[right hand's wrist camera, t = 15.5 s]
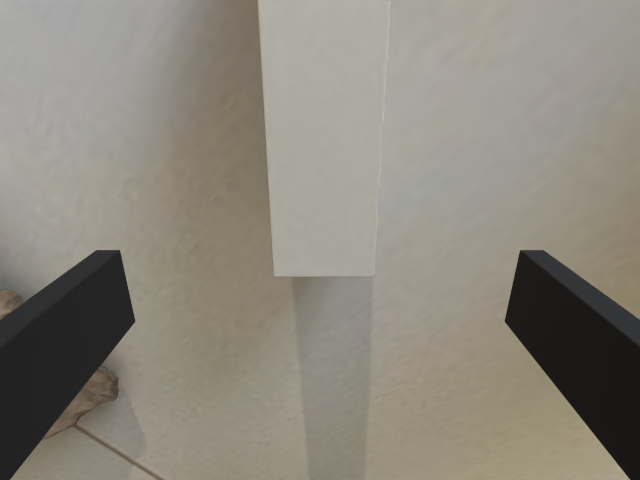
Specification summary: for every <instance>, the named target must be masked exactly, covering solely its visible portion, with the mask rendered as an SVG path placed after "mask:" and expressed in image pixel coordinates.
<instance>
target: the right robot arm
mask: <svg viewBox="0 0 640 480" xmlns="http://www.w3.org/2000/svg"><path fill="white" fill-rule="evenodd" d="M134 323H135V318H134V313H133V309H132V304H131V300H130V295H129V290H128V286H127V281H126V276H125V272H124V267H123V263H122V258H121V253H120V250H96V251H95V252H93V253H92V254H91V255H89V256H88V257H87V258H85V259H84V260H82V261H81V262H80V263H78V264H77V265H75V266H74V267H73V268H71V269H70V270H69V271H67V272H66V273H64V274H63V275H62V276H60V277H59V278H57V279H56V280H55V281H53V282H52V283H51V284H49V285H48V286H46V287H45V288H44V289H42V290H41V291H39V292H38V293H37V294H35V295H34V296H33V297H31V298H30V299H28V300H27V301H26V302H24V303H23V304H21V305H20V306H19V307H17V308H16V309H15V310H13V311H12V312H10V313H9V314H8V315H6V316H5V317H4V318H2V319H1V320H0V480H10V479H11V477H12V476H13V475H14V474H15V472H16V471H17V470H18V469H19V467H20V466H21V465H22V464H23V462H24V461H25V460H26V459H27V457H28V456H29V455H30V454H31V452H32V451H33V450H34V448H35V447H36V446H37V445H38V443H39V442H40V441H41V440H42V438H43V437H44V436H45V435H46V433H47V432H48V431H49V430H50V428H51V427H52V426H53V425H54V423H55V422H56V421H57V419H58V418H59V417H60V416H61V414H62V413H63V412H64V411H65V409H66V408H67V407H68V406H69V404H70V403H71V402H72V401H73V399H74V398H75V397H76V396H77V394H78V393H79V392H80V391H81V389H82V388H83V387H84V385H85V384H86V383H87V382H88V380H89V379H90V378H91V377H92V375H93V374H94V373H95V372H96V370H97V369H98V368H99V367H100V365H101V364H102V363H103V362H104V360H105V359H106V358H107V357H108V355H109V354H110V353H111V351H112V350H113V349H114V348H115V346H116V345H117V344H118V343H119V341H120V340H121V339H122V338H123V336H124V335H125V334H126V333H127V331H128V330H129V329H130V328H131V326H132V325H133V324H134ZM505 323H506V324H507V325H508V326H509V328H510V329H511V330H512V331H513V333H514V334H515V335H516V336H517V338H518V339H519V340H520V341H521V343H522V344H523V345H524V346H525V348H526V349H527V350H528V351H529V353H530V354H531V355H532V357H533V358H534V359H535V360H536V362H537V363H538V364H539V365H540V367H541V368H542V369H543V370H544V372H545V373H546V374H547V375H548V377H549V378H550V379H551V380H552V382H553V383H554V384H555V385H556V387H557V388H558V389H559V391H560V392H561V393H562V394H563V396H564V397H565V398H566V399H567V401H568V402H569V403H570V404H571V406H572V407H573V408H574V409H575V411H576V412H577V413H578V414H579V416H580V417H581V418H582V419H583V421H584V422H585V423H586V425H587V426H588V427H589V428H590V430H591V431H592V432H593V433H594V435H595V436H596V437H597V438H598V440H599V441H600V442H601V443H602V445H603V446H604V447H605V448H606V450H607V451H608V452H609V454H610V455H611V456H612V457H613V459H614V460H615V461H616V462H617V464H618V465H619V466H620V467H621V469H622V470H623V471H624V472H625V474H626V475H627V476H628V477H629V479H630V480H640V320H639V319H638V318H636V317H635V316H634V315H632V314H631V313H630V312H628V311H627V310H625V309H624V308H623V307H621V306H620V305H619V304H617V303H616V302H614V301H613V300H612V299H610V298H609V297H607V296H606V295H605V294H603V293H602V292H601V291H599V290H598V289H596V288H595V287H594V286H592V285H591V284H589V283H588V282H587V281H585V280H584V279H583V278H581V277H580V276H578V275H577V274H576V273H574V272H573V271H571V270H570V269H569V268H567V267H566V266H565V265H563V264H562V263H560V262H559V261H558V260H556V259H555V258H553V257H552V256H551V255H549V254H548V253H547V252H545V251H544V250H520V253H519V258H518V263H517V267H516V272H515V276H514V281H513V286H512V290H511V295H510V300H509V304H508V309H507V313H506V318H505Z"/></svg>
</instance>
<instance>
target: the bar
mask: <svg viewBox="0 0 640 480" xmlns="http://www.w3.org/2000/svg"><path fill="white" fill-rule="evenodd" d="M257 5H258V22H259V39H260V56H261V73H262V90H263V107H264V124H265V141H266V158H267V175H268V192H269V209H270V226H271V243H272V261H273V276H274V277H374V269H375V253H376V236H377V220H378V203H379V187H380V170H381V154H382V137H383V121H384V104H385V88H386V71H387V55H388V38H389V22H390V6H391V0H257Z"/></svg>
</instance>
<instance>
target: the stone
mask: <svg viewBox="0 0 640 480" xmlns="http://www.w3.org/2000/svg"><path fill="white" fill-rule="evenodd" d="M24 302H26V301H25V300H24V299H22V297H21V296H20V295H19V294H18V293H16V292H13V291H10V290H7V289H5V290H0V320H1V319H2V318H4V317H5V316H6V315H8V314H9V313H10V312H12V311H13V310H15V309H16V308H17V307H19V306H20V305H21V304H23V303H24ZM117 396H118V378H117V377H116V376H115V375H113V374H112V373H110V372H108V370H107V369H106V368H104V367H99V368H98V369H97V370H96V372H95V373H94V374H93V375H92V377H91V378H90V379H89V380H88V382H87V383H86V384H85V385H84V387H83V388H82V389H81V391H80V392H79V393H78V394H77V396H76V397H75V398H74V399H73V401H72V402H71V403H70V404H69V406H68V407H67V408H66V409H65V411H64V412H63V413H62V414H61V416H60V417H59V418H58V419H57V421H56V422H55V423H54V425H53V426H52V427H51V428H50V430H49V431H48V432H47V433H46V435H45V436H44V437H43V438H42V440H43V439H46V438H48V437H51V436H53V435H55V434H57V433H59V432H61V431H63V430H65V429H67V428H69V427H71V426H74V425H75V424H76V423H77V421H78V420H79V418H80V417H81V416H82V415H83V414H85V413H87V412H88V411H90V410H92V409H93V408H95V407H96V406H97V405H99V404H101V403H103V402H104V401H113V400H115V399H116V398H117Z"/></svg>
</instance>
